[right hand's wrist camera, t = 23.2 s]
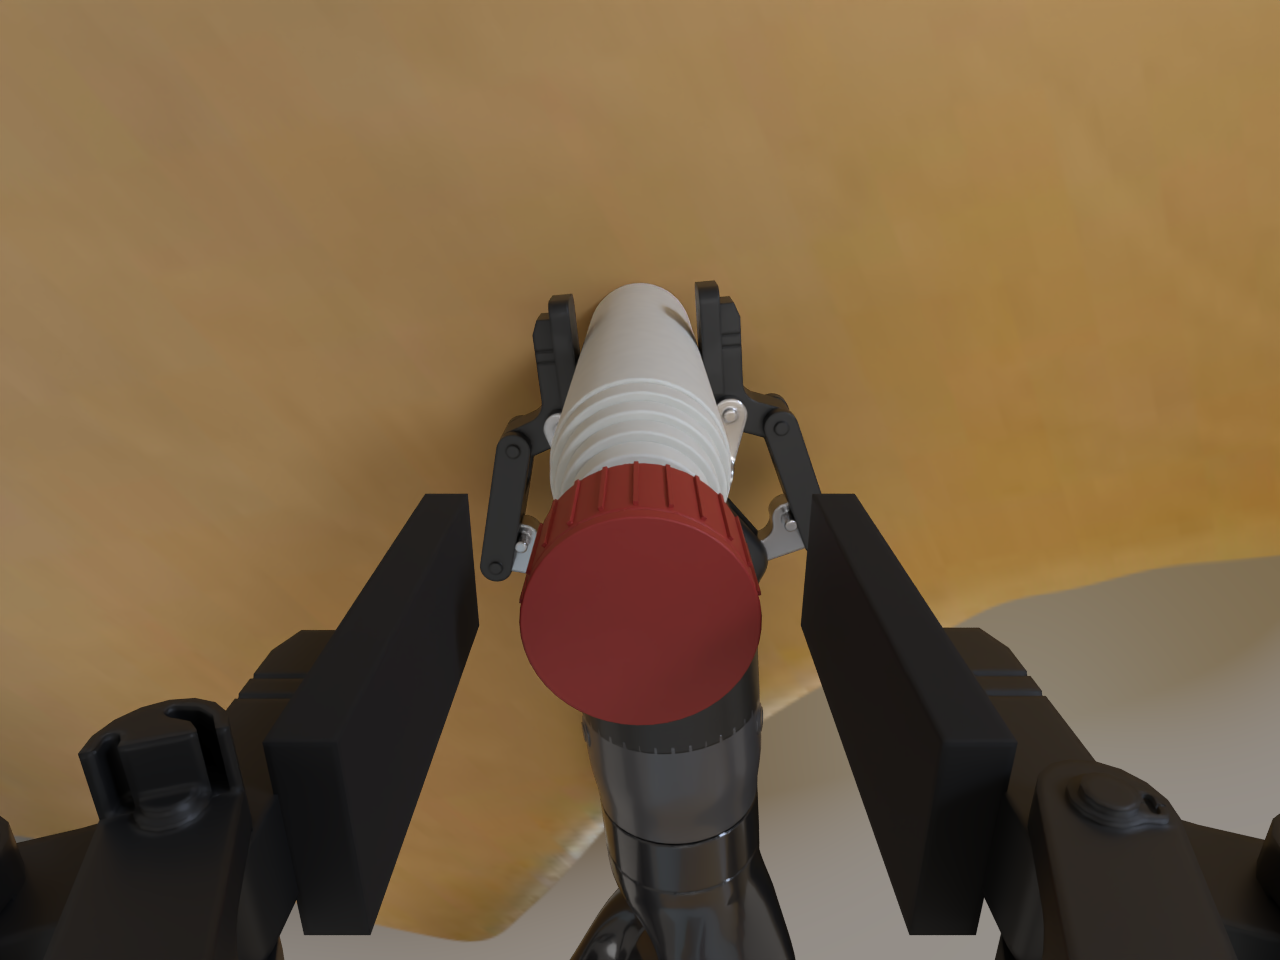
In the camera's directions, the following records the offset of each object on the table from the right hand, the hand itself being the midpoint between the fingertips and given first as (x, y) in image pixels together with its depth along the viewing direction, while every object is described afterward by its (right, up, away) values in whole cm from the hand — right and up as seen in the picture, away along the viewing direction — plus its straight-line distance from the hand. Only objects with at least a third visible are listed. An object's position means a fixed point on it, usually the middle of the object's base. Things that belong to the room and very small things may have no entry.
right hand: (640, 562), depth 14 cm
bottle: (0, +8, +20) cm, 21 cm away
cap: (0, -1, -2) cm, 2 cm away
